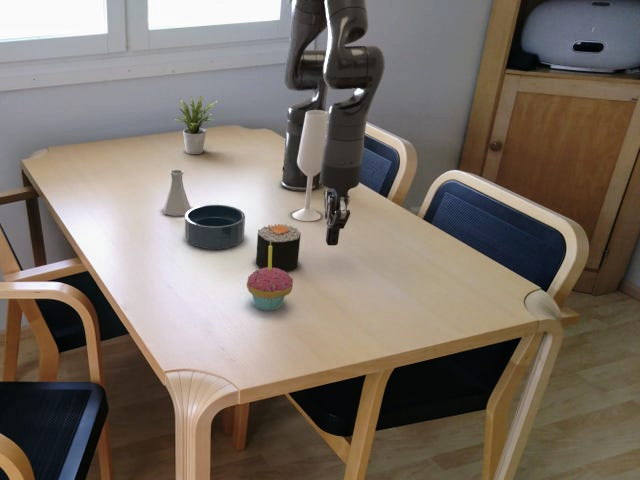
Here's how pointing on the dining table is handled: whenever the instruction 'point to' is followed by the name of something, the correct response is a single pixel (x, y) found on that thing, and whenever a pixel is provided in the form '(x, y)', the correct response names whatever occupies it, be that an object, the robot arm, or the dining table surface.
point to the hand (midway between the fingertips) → (331, 243)
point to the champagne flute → (311, 156)
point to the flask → (176, 196)
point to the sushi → (278, 247)
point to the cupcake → (269, 285)
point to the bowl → (214, 226)
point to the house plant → (194, 126)
